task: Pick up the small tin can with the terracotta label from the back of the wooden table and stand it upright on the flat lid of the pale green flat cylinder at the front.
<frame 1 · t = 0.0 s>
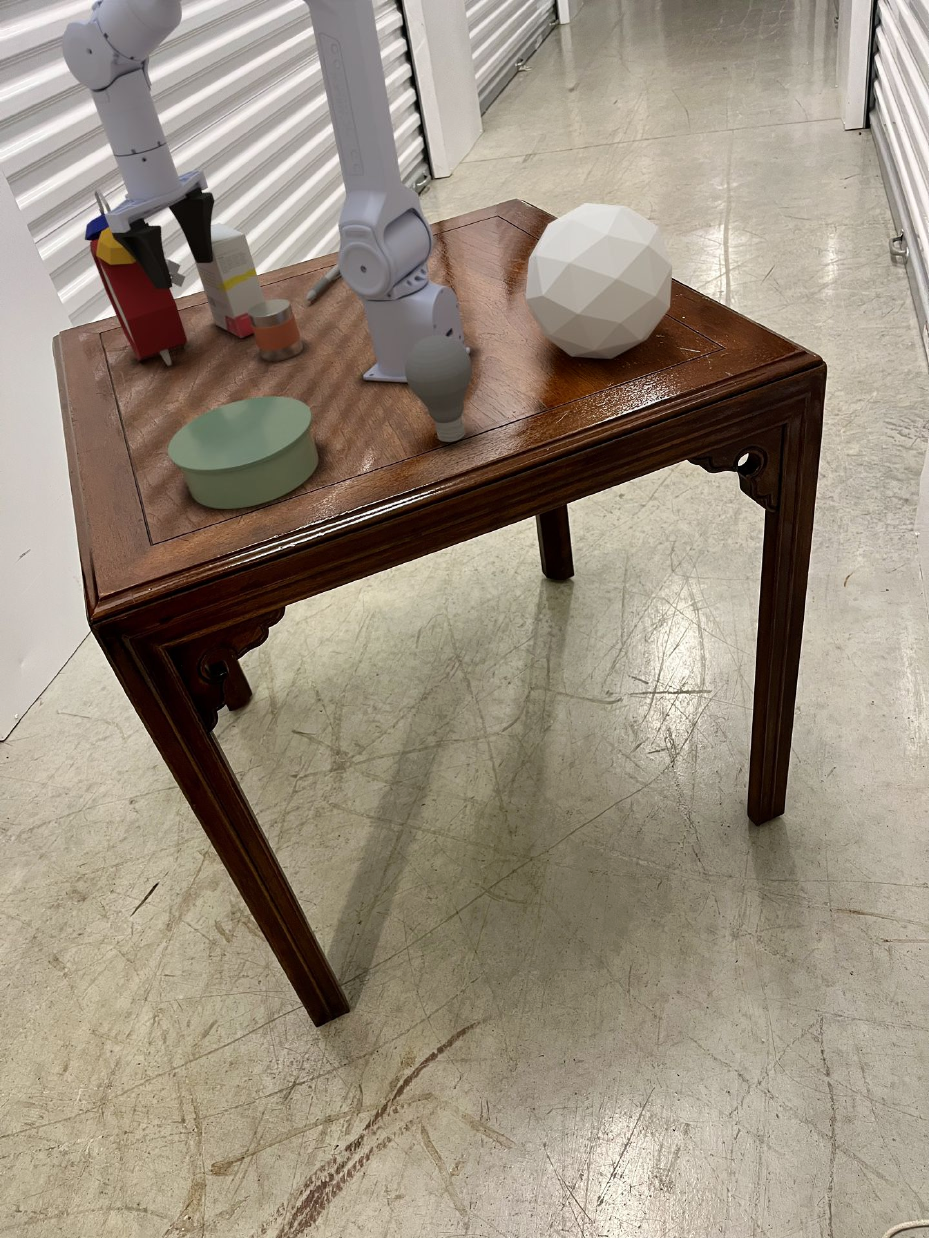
hand: (185, 274, 109), 10 cm above the table, tool pointing down, fingers open, 7 cm apart
can: (282, 352, 113), on the table
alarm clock: (170, 352, 120), on the table
pale green flat cylinder: (254, 472, 90), on the table
light bulb: (452, 441, 89), on the table
pen: (329, 287, 128), on the table
ink box: (244, 326, 122), on the table
geometric shape: (604, 350, 99), on the table
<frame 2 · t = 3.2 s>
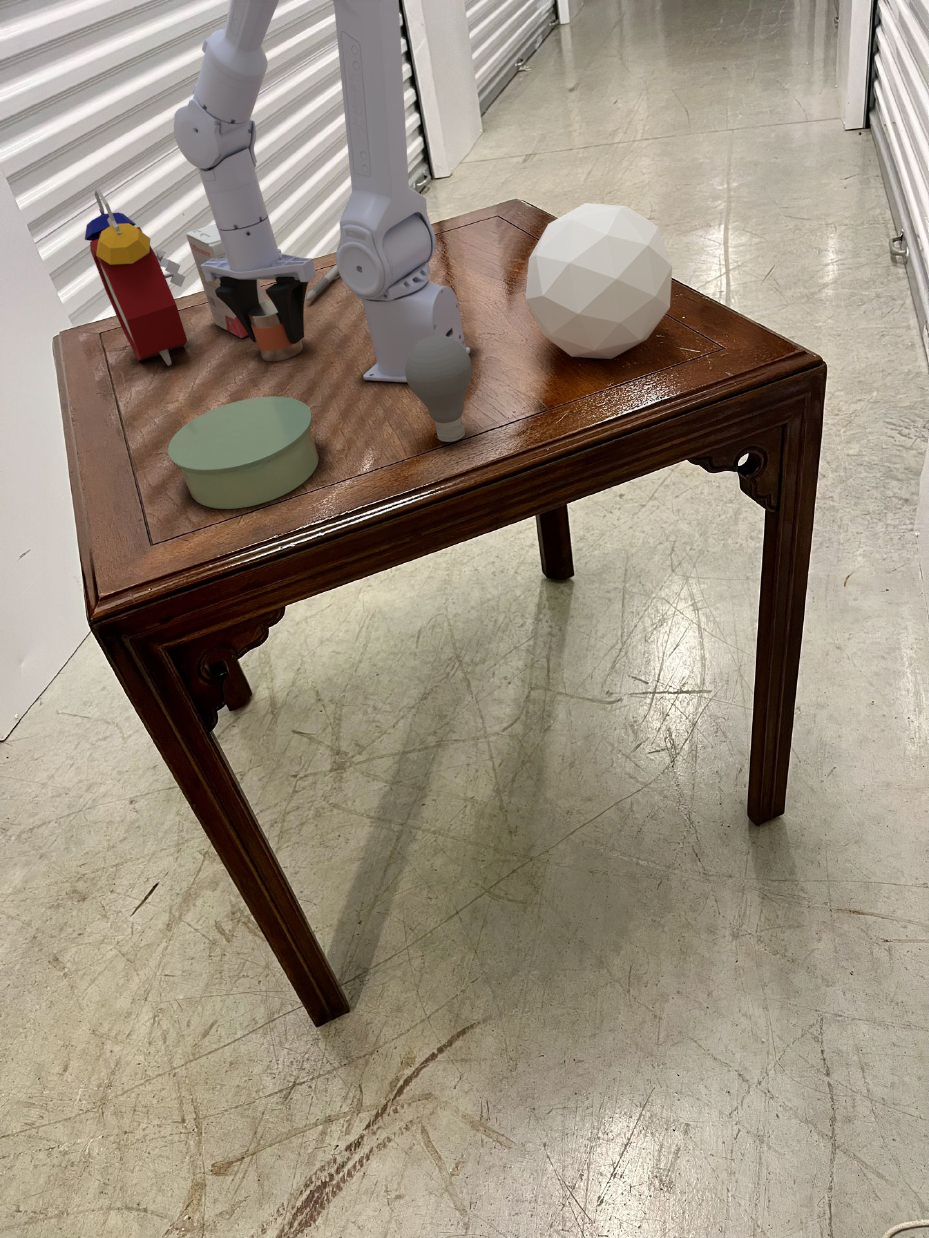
hand: (278, 339, 112), 2 cm above the table, tool pointing down, fingers closed on can, 5 cm apart
can: (282, 352, 113), on the table, touching gripper
everything else where it was.
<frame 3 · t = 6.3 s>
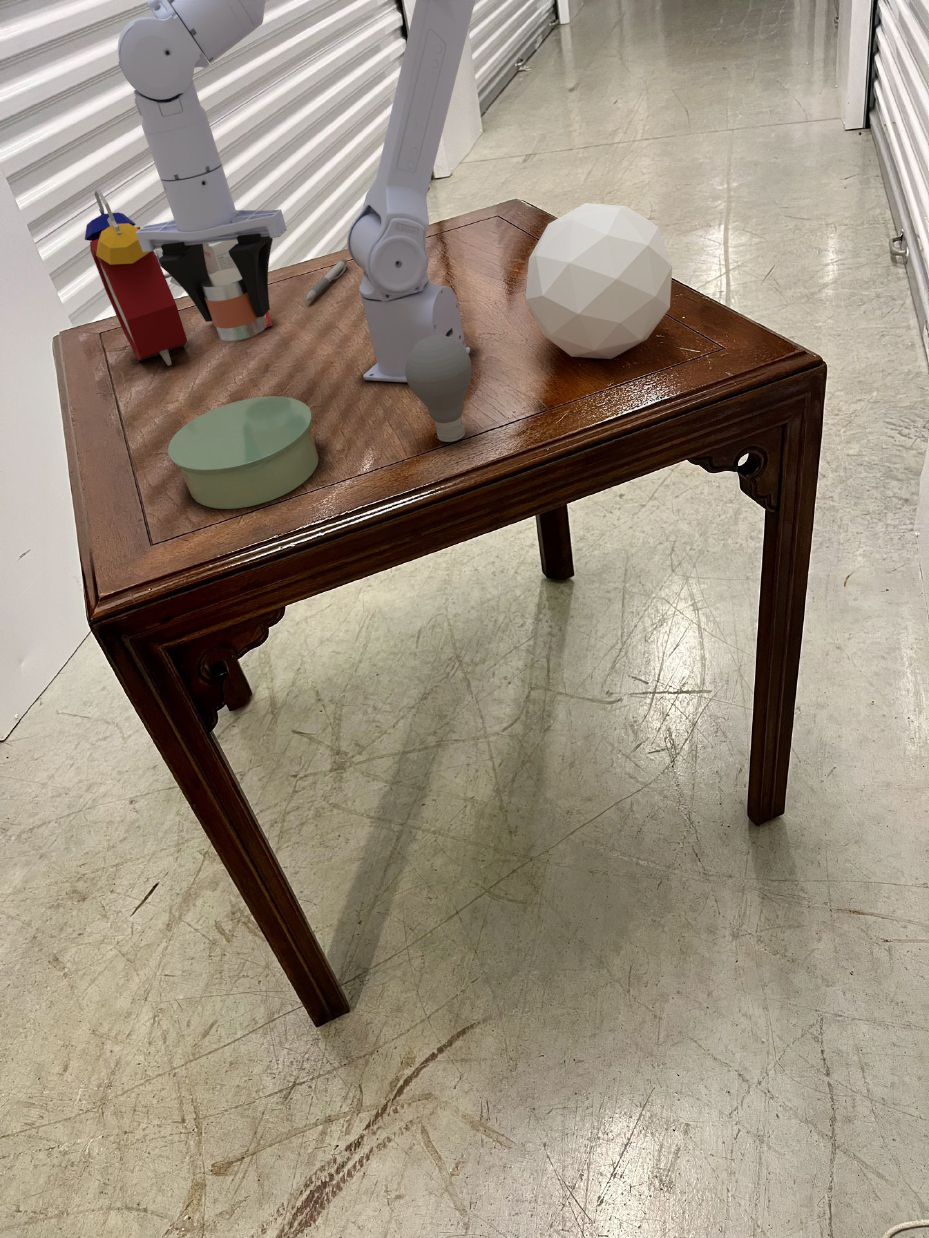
hand: (238, 315, 94), 10 cm above the table, tool pointing down, fingers closed on can, 5 cm apart
can: (242, 330, 95), point 9 cm above the table, touching gripper
everything else where it was.
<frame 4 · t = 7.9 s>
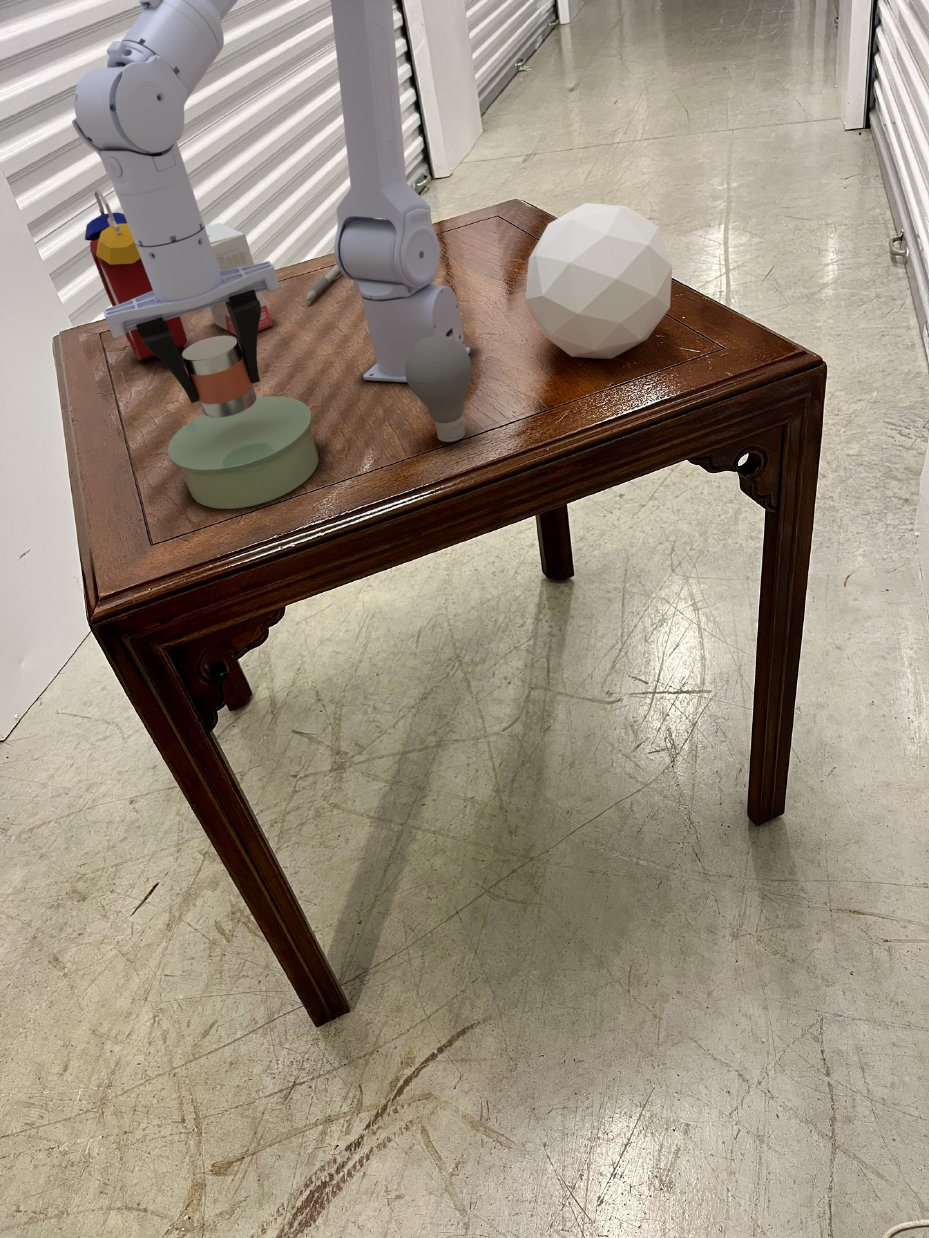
hand: (224, 388, 85), 9 cm above the table, tool pointing down, fingers closed on can, 5 cm apart
can: (229, 404, 86), point 7 cm above the table, touching gripper
everything else where it was.
when the fingers open (6 cm above the table, at t = 9.3 s): can stays where it is, resting on pale green flat cylinder.
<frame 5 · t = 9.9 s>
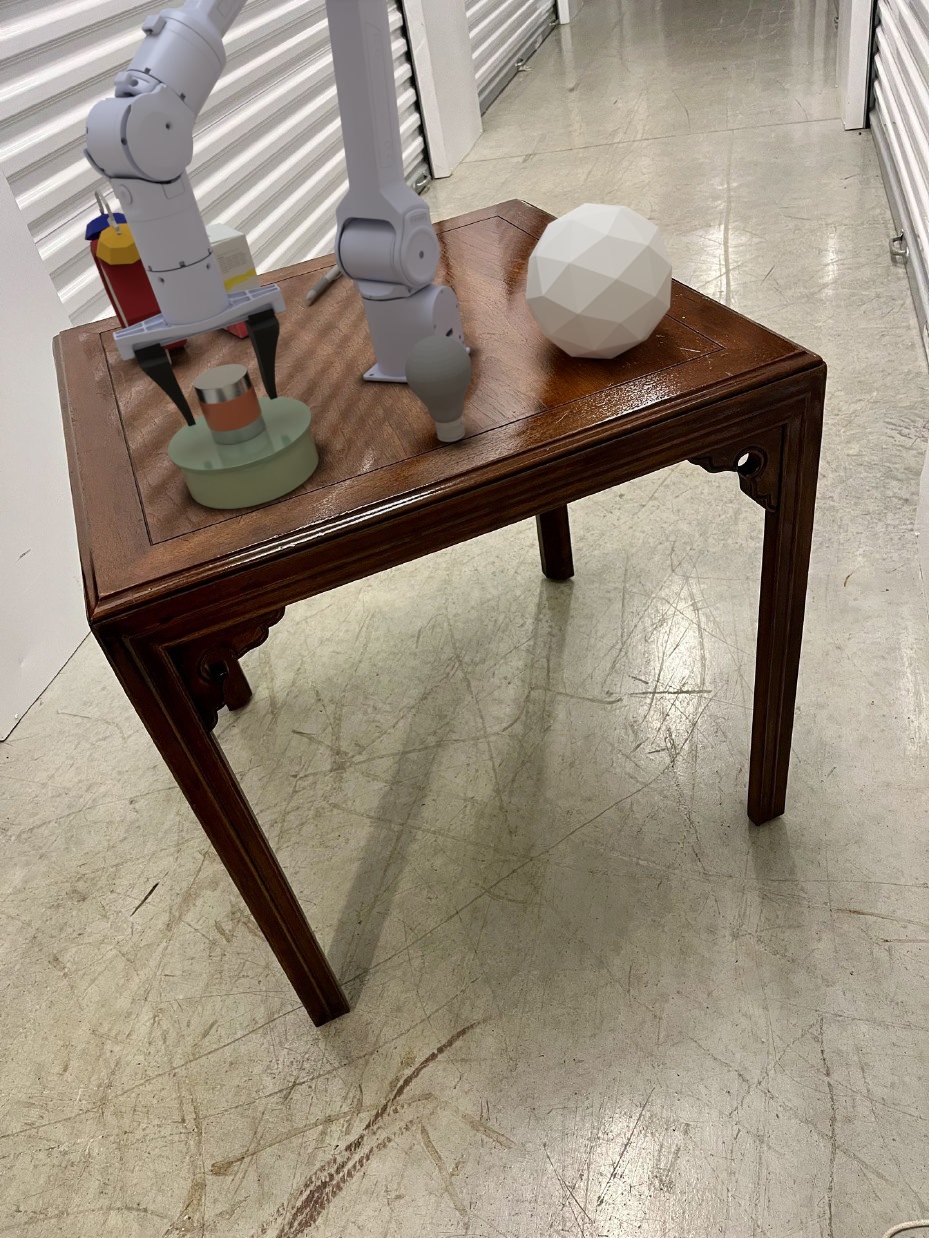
hand: (231, 408, 86), 7 cm above the table, tool pointing down, fingers open, 7 cm apart
can: (239, 431, 88), point 4 cm above the table, touching pale green flat cylinder
everything else where it was.
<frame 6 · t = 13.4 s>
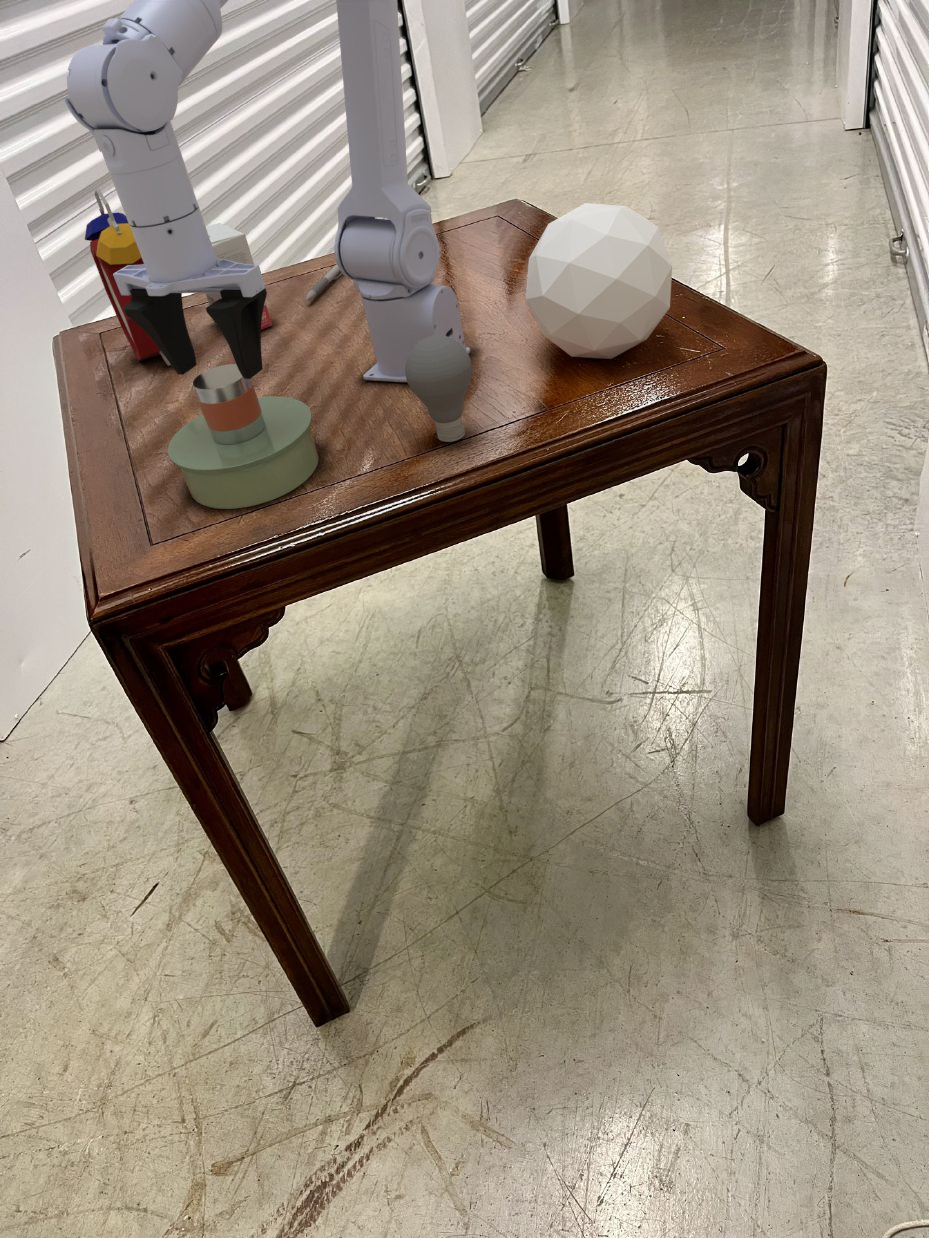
hand: (219, 371, 84), 10 cm above the table, tool pointing down, fingers open, 7 cm apart
nothing on the table moved.
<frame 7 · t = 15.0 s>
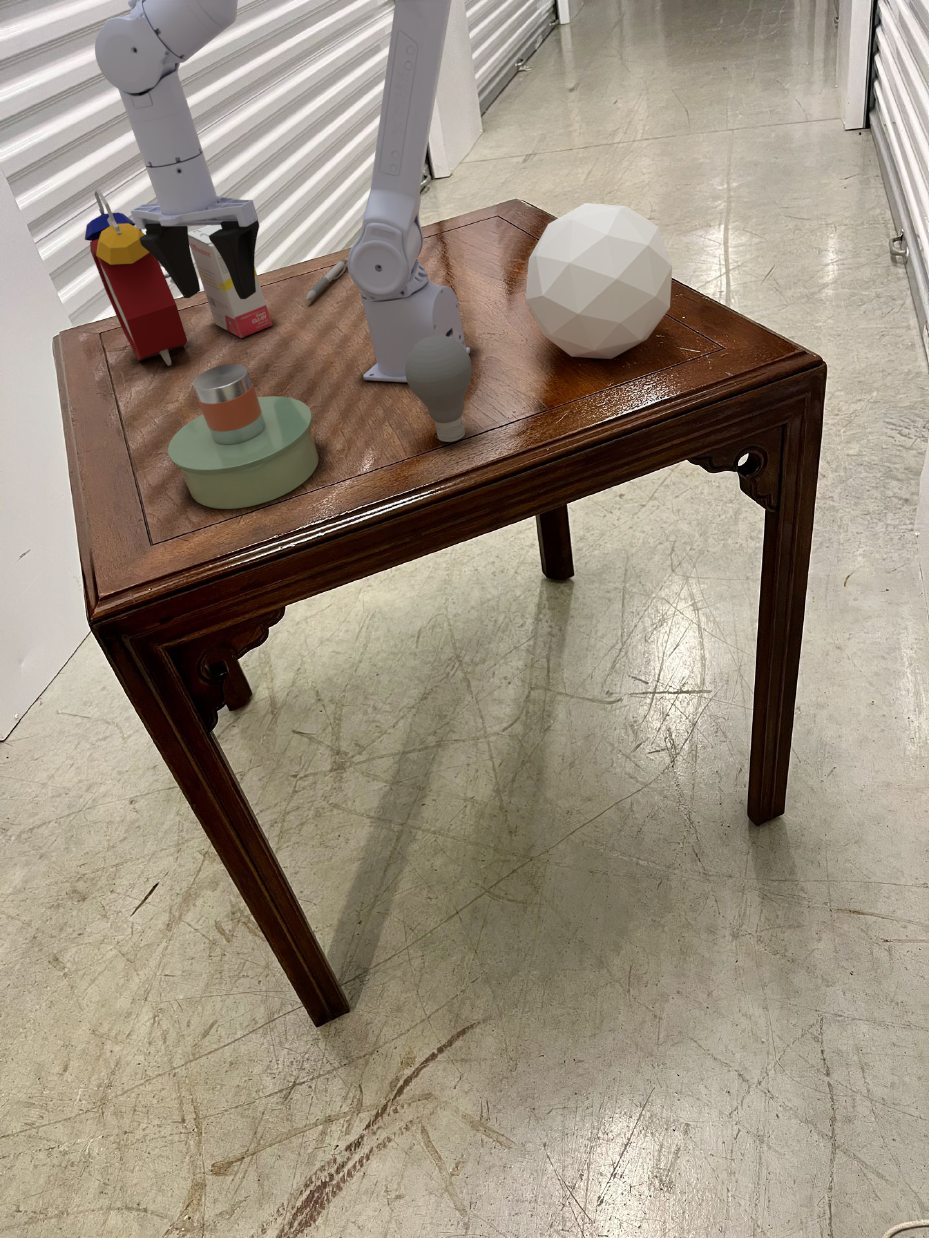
hand: (219, 295, 100), 10 cm above the table, tool pointing down, fingers open, 7 cm apart
nothing on the table moved.
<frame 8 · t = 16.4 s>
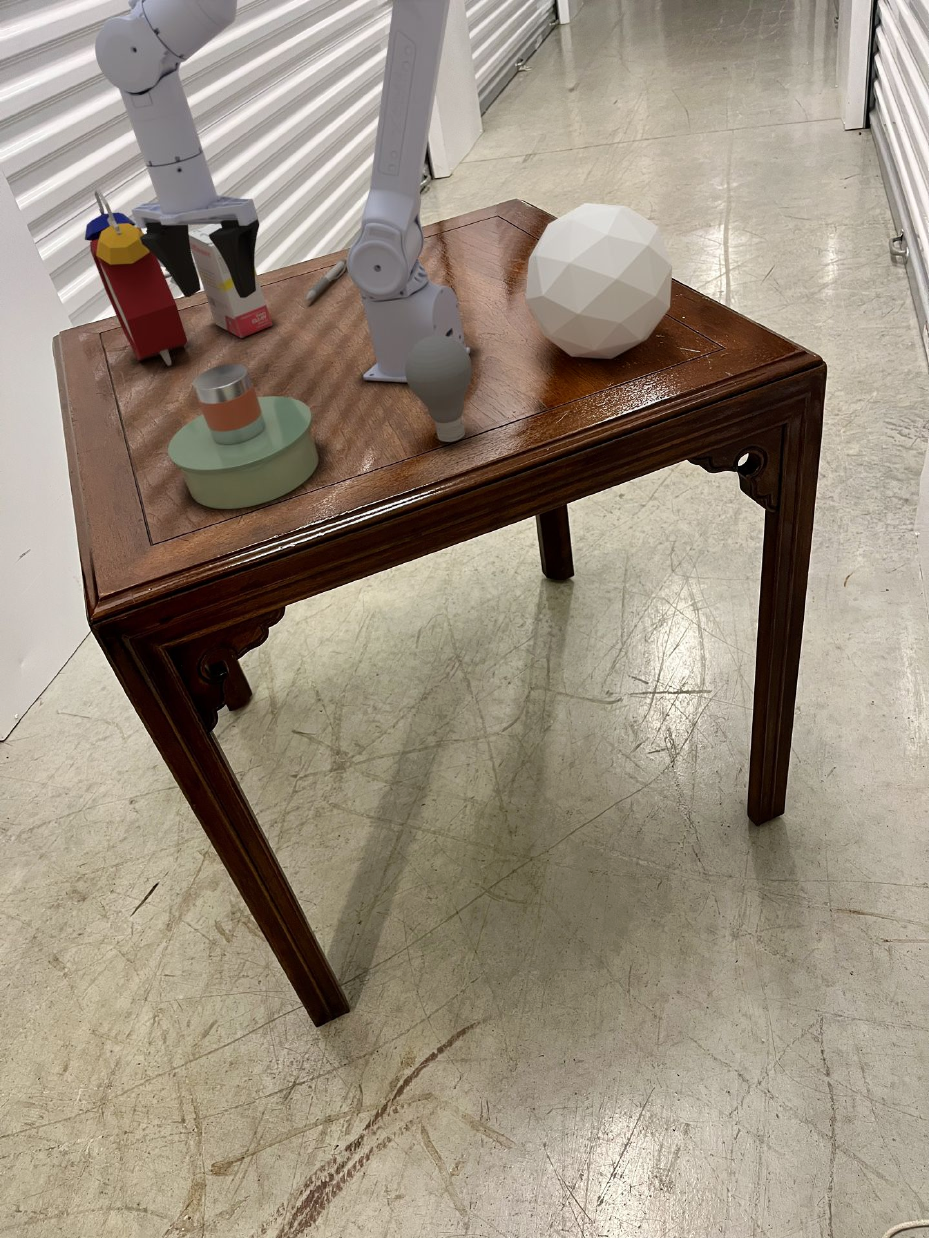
hand: (220, 293, 101), 10 cm above the table, tool pointing down, fingers open, 7 cm apart
nothing on the table moved.
at the end: can inside the target area on the pale green flat cylinder (0.0 cm from its centre), point 4.5 cm above the pale green flat cylinder's base; can tilted 0°; the gripper is holding nothing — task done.
